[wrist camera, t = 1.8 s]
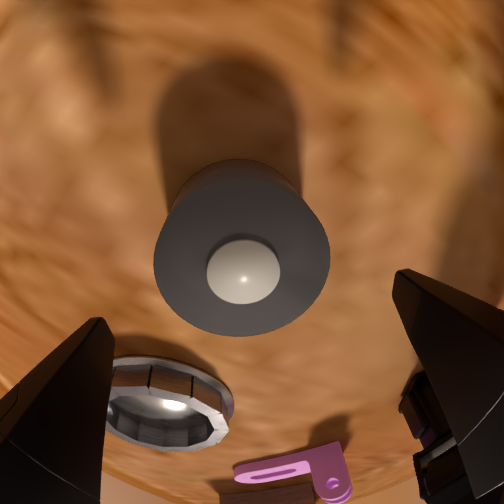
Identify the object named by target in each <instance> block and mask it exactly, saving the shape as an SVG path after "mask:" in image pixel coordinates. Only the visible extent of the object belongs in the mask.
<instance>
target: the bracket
mask: <svg viewBox="0 0 504 504" xmlns="http://www.w3.org/2000/svg"><path fill="white" fill-rule="evenodd" d="M309 472H311V475H312V479H313V484H314V488H315V491H316V493H317V494H318V495H319V496H320V497H321V498H322V499H323V500H324V501H325V502H327V503H329V504H341V503H343V502H345V501H347V500H348V499H349V498H350V496H351V494H352V484H351V480H350V476H349V473H348V469H347V466H346V462H345V459H344V456H343V452H342V449H341V445H340V442H339V441H335V442H332V443H329V444H326V445H323V446H319V447H316V448H313V449H309V450H305V451H302V452H298V453H294V454H290V455H286V456H281V457H277V458H272V459H268V460H263V461H257V462H252V463H247V464H243V465H240V466H237V467H236V468H235V469H234V479H235V480H236V481H237V482H241V483H263V482H269V481H274V480H279V479H284V478H289V477H293V476H297V475H301V474H305V473H309ZM336 486H338V487H337V488H335V489H333V488H334V487H336Z"/></svg>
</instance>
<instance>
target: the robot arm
mask: <svg viewBox="0 0 504 504" xmlns="http://www.w3.org/2000/svg"><path fill="white" fill-rule="evenodd" d="M392 298H393V301H394V303H395V306H396V308H397V311H398V313H399V315H400V318H401V320H402V323H403V325H404V328H405V330H406V333H407V335H408V338H409V340H410V342H411V344H412V346H413V348H414V350H415V352H416V354H417V356H418V358H419V360H420V362H421V364H422V366H423V368H424V370H425V371H424V372H422V373H419V374H417V375H416V376H415V377H414V378H413V379H412V382H411V384H410V386H409V388H408V390H407V393H406V395H405V397H404V399H403V401H402V403H401V405H400V407H399V409H398V411H399V413H403V415H404V417H405V419H406V421H407V424H408V426H409V428H410V430H411V432H412V435H413V437H414V438H415V439H418V438H419V439H420V441H421V444H422V446H423V448H424V450H422V451H420V452H417V453H415V454H414V455H413V461H414V468H415V472H416V476H417V480H418V484H419V492H420V498H421V499H423V500H425V502H426V503H427V504H504V311H503V310H501V309H498V308H497V307H495V306H492V305H490V304H488V303H486V302H484V301H482V300H479V299H477V298H475V297H473V296H471V295H468V294H466V293H464V292H462V291H459V290H457V289H455V288H453V287H450V286H448V285H446V284H444V283H441V282H439V281H437V280H434V279H432V278H430V277H427V276H425V275H423V274H420V273H418V272H416V271H413V270H411V269H402V270H398V271H397V272H396V273H395V278H394V284H393V290H392ZM114 347H115V339H114V336H113V334H112V332H111V330H110V328H109V326H108V325H107V323H106V321H105V319H104V318H103V317H93V318H90V319H89V320H88V321H87V322H85V323H84V324H83V325H82V326H81V327H80V328H78V329H77V330H76V331H75V332H74V333H73V334H71V335H70V336H69V337H68V338H67V339H66V340H65V341H63V342H62V343H61V344H60V345H59V346H58V347H57V348H56V349H54V350H53V351H52V352H51V353H50V354H49V355H48V356H47V357H45V358H44V359H43V360H42V361H41V362H40V363H39V364H38V365H37V366H36V367H35V368H33V369H32V370H31V371H30V372H29V373H28V374H27V375H26V376H25V377H24V378H23V379H22V380H21V381H20V382H19V383H17V384H16V385H15V386H14V387H13V388H12V389H11V390H10V391H9V392H8V393H7V394H6V395H5V396H3V397H2V398H1V399H0V504H100V488H101V471H102V457H103V446H104V437H105V428H106V420H107V412H108V405H109V398H110V392H111V385H112V373H113V359H114ZM456 443H457V444H456ZM453 445H454V446H453ZM450 447H451V448H450ZM447 449H448V450H447ZM444 451H445V452H444ZM441 453H442V454H441ZM439 454H440V455H439ZM438 455H439V456H438ZM436 456H437V457H436Z"/></svg>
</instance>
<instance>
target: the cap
mask: <svg viewBox="0 0 504 504" xmlns="http://www.w3.org/2000/svg"><path fill="white" fill-rule="evenodd" d="M153 266H154V275H155V279H156V282H157V286H158V288H159V290H160V292H161V294H162V296H163V298H164V299H165V301H166V302H167V304H168V305H169V306H170V307H171V309H172V310H173V311H174V312H175V313H176V314H178V315H179V316H180V317H181V318H182V319H184V320H185V321H187V322H188V323H190V324H192V325H193V326H195V327H197V328H199V329H202V330H204V331H207V332H210V333H214V334H218V335H223V336H233V337H245V336H254V335H259V334H264V333H267V332H270V331H274V330H276V329H278V328H281V327H283V326H285V325H287V324H288V323H290V322H292V321H293V320H295V319H296V318H298V317H299V316H300V315H302V314H303V313H304V312H305V311H306V310H307V309H308V308H309V307H310V306H311V305H312V304H313V303H314V301H315V300H316V298H317V297H318V296H319V294H320V292H321V290H322V289H323V287H324V284H325V282H326V279H327V276H328V272H329V268H330V247H329V242H328V238H327V235H326V233H325V230H324V228H323V226H322V224H321V223H320V221H319V219H318V218H317V217H316V215H315V214H314V213H313V211H312V210H311V209H310V208H309V206H308V205H307V204H306V202H305V201H304V200H303V199H302V197H301V196H300V195H299V194H298V192H297V191H296V190H295V189H294V187H293V186H292V185H291V184H290V182H289V181H288V180H287V179H286V178H285V177H284V176H283V175H282V174H280V173H279V172H278V171H276V170H275V169H273V168H271V167H269V166H267V165H265V164H263V163H260V162H256V161H252V160H246V159H231V160H224V161H220V162H216V163H214V164H211V165H209V166H207V167H205V168H203V169H201V170H200V171H198V172H197V173H195V174H194V175H193V176H192V177H191V178H190V179H189V180H188V181H187V182H186V183H185V184H184V185H183V187H182V188H181V190H180V191H179V193H178V195H177V197H176V199H175V201H174V203H173V205H172V207H171V210H170V212H169V214H168V216H167V219H166V221H165V223H164V225H163V228H162V230H161V232H160V235H159V237H158V240H157V243H156V247H155V252H154V263H153Z"/></svg>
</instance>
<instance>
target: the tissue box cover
mask: <svg viewBox="0 0 504 504" xmlns="http://www.w3.org/2000/svg"><path fill="white" fill-rule="evenodd" d="M219 499H220V504H315V500H314V496H313V491H312V486H311V482H308V483H304V484H299V485H294V486H289V487H283V488H277V489H271V490H264V491H256V492H248V493H238V494H225V495H219Z"/></svg>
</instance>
